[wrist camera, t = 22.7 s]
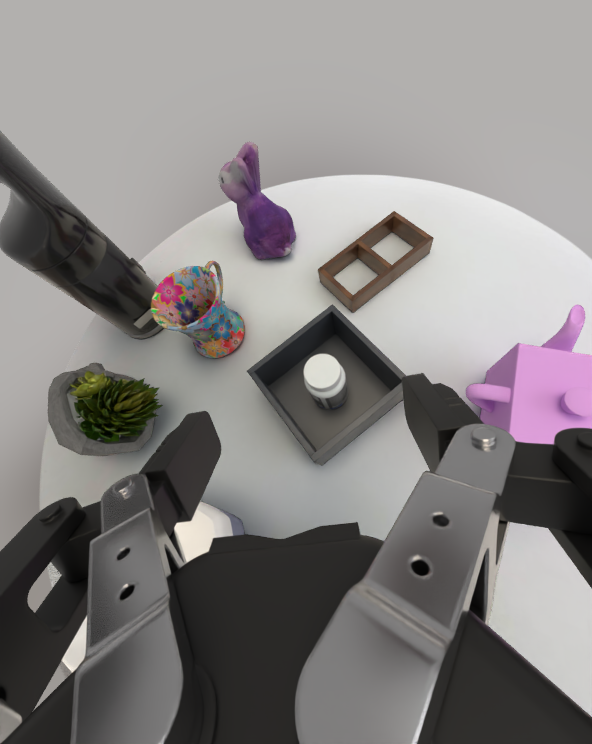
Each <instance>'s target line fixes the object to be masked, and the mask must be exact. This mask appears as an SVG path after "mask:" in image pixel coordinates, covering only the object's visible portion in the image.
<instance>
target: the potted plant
mask: <svg viewBox="0 0 592 744" xmlns="http://www.w3.org/2000/svg"><path fill="white" fill-rule="evenodd" d="M144 379H145V378H144ZM144 379H142V380H140V381H137V380H135V379H133V378H130V377H128V376H124V375H119V374H114V373H112V372H109V371H106V370H105V369H104V367H103V366H102V364H100V363H91V364H90V365H89V366H86V367H84V368H81V369H79V370H76V371H71V372H65V373H62V374H60V375H59V376H57V377H55V378H54V379H53V382H52V384H51V386H50V388H49V394H48V420H49V423H50V425H51V428H52V430H53V432H54V434H55V437H56V439H57V441H58V444H60V445H62V446H64V447H66V448H68V449H70V450H72V451H74V452H76V453H78V454H80V455H93V456H107V455H113V454H119V453H126V452H132V451H138V450H140V449H141V448H142V446H143V445H144V444H145V443H146V442H147V441H148V440H149V439H150V437H151V436H152V430H153V425H154V419H155V417H156V416H159V415H156V409H158V408H160V407H161V406H162V405H156V404H157V403H159V402H156V401H157V400H159V399H154V397H155V396H156V395H157V394H155V393H156V391H157V390H158V389H159V388H154V387H152V388H149V386H150V384H149V385H147V386H146V384H145V385H144V384H143V382H144Z"/></svg>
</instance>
